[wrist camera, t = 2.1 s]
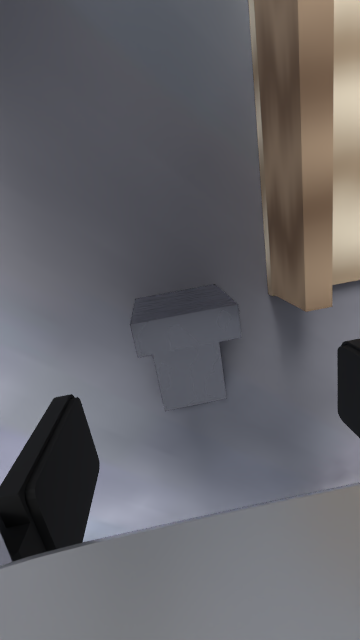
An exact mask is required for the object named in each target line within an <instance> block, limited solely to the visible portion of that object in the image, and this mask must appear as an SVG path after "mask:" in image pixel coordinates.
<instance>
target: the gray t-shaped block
mask: <svg viewBox="0 0 360 640" xmlns="http://www.w3.org/2000/svg"><path fill="white" fill-rule="evenodd" d="M130 326H131V331H132V335H133V339H134V343H135V348H136V352H137V356H138V358H139V357H144V356H149V355H153V358H154V363H155V367H156V372H157V377H158V381H159V386H160V390H161V395H162V400H163V404H164V409H165V411H168V410H173V409H178V408H183V407H188V406H193V405H198V404H203V403H208V402H212V401H217V400H222V399H227V398H226V390H225V382H224V375H223V367H222V360H221V352H220V344H219V342H221V341H226V340H232V339H237V338H242V337H241V327H240V317H239V308H238V304H237V303H236V302H235V301H234V300H233V299H231V298H230V297H229V296H228V295H227V294H226V293H224V292H223V291H222V290H221V289H220V288H219V287H217V286H216V285H215V284H213V285H208V286H202V287H197V288H192V289H186V290H181V291H175V292H170V293H164V294H159V295H154V296H148V297H143V298H137V299H135V303H134V308H133V313H132V318H131V323H130Z"/></svg>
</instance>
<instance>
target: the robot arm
mask: <svg viewBox="0 0 360 640" xmlns="http://www.w3.org/2000/svg"><path fill="white" fill-rule="evenodd" d="M338 414H339V416H340V418H341V420H342V421H343V422H344V423H345V424H346V425H347V426H348V427H349V428H350V429H351V430H352V431H353V432H354V433H355V434H356V435H357V436H358V437H359V438H360V339H355V340H350V341H345V342H343V343H342V345H341V346H340V347H339V348H338ZM98 473H99V458H98V455H97V452H96V449H95V445H94V442H93V439H92V436H91V433H90V429H89V426H88V423H87V420H86V417H85V413H84V410H83V407H82V404H81V401H80V399H79V398H78V397H77V398H75V397H74V396H73V395H72V394H71V395H66V396H61V397H56V398H54V399H53V401H52V402H51V404H50V405H49V407H48V409H47V410H46V412H45V414H44V415H43V417H42V419H41V420H40V422H39V423H38V425H37V427H36V428H35V430H34V432H33V433H32V435H31V437H30V438H29V440H28V441H27V443H26V445H25V446H24V448H23V450H22V451H21V453H20V455H19V456H18V458H17V459H16V461H15V463H14V464H13V466H12V468H11V469H10V471H9V473H8V474H7V476H6V477H5V479H4V481H3V482H2V484H1V486H0V640H360V483H356V484H351V485H346V486H341V487H337V488H332V489H327V490H322V491H318V492H313V493H308V494H303V495H299V496H294V497H289V498H284V499H280V500H275V501H270V502H266V503H261V504H256V505H252V506H247V507H242V508H237V509H233V510H228V511H223V512H219V513H214V514H210V515H205V516H201V517H196V518H191V519H187V520H182V521H178V522H173V523H168V524H164V525H159V526H155V527H150V528H146V529H141V530H136V531H132V532H127V533H123V534H118V535H114V536H109V537H105V538H100V539H96V540H91V541H87V542H83V537H84V533H85V529H86V525H87V520H88V516H89V512H90V507H91V503H92V499H93V494H94V490H95V486H96V482H97V477H98ZM82 542H83V543H82Z"/></svg>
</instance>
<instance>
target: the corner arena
mask: <svg viewBox="0 0 360 640" xmlns="http://www.w3.org/2000/svg"><path fill="white" fill-rule="evenodd" d="M248 3H249V18H250V33H251V47H252V62H253V77H254V91H255V106H256V121H257V136H258V150H259V165H260V180H261V195H262V209H263V224H264V239H265V253H266V268H267V283H268V294H269V295H271V296H277V297H279V298H281V299H283V300H285V301H287V302H289V303H290V304H292V305H294V306H296V307H298V308H300V309H302V310H303V311H305V312H307V311H312V310H317V309H322V308H328V307H332V285H335V284H341V283H346V282H351V281H357V280H360V0H248Z"/></svg>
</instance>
